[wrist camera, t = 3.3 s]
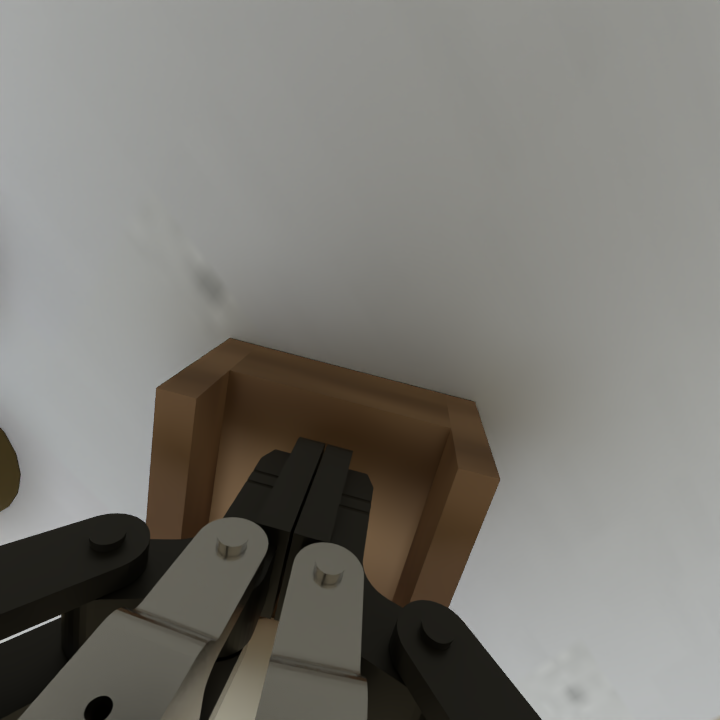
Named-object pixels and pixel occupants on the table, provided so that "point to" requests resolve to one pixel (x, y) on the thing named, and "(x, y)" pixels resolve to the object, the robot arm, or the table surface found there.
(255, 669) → the ball
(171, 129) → the table surface
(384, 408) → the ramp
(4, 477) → the pepper mill
